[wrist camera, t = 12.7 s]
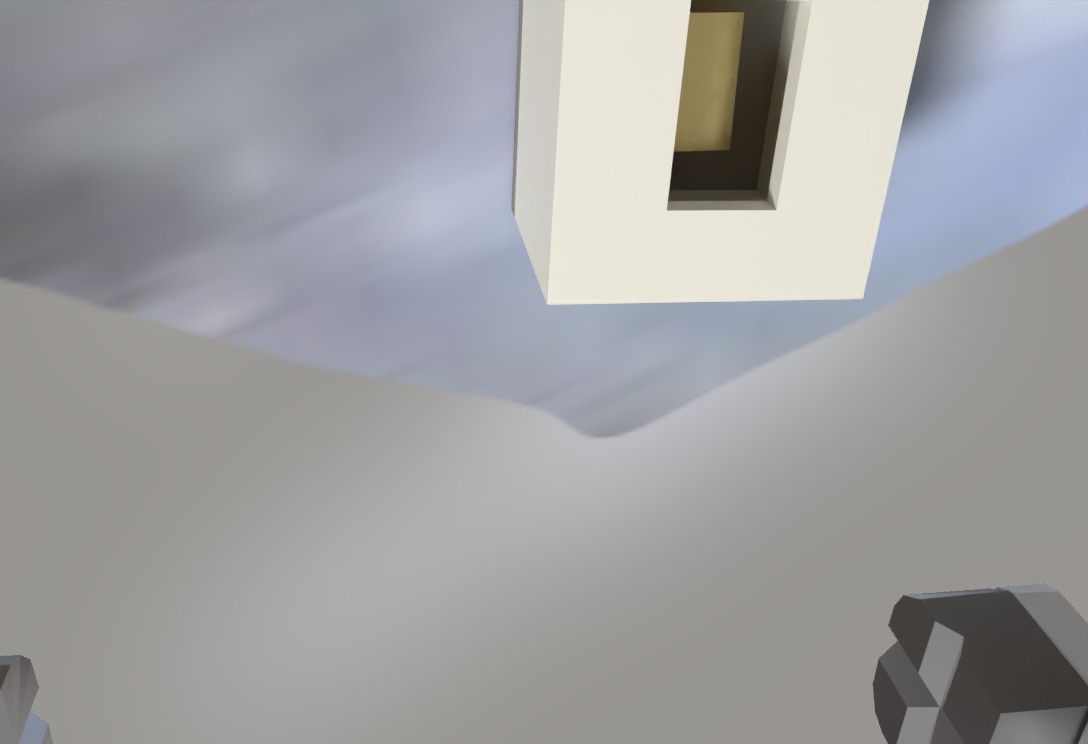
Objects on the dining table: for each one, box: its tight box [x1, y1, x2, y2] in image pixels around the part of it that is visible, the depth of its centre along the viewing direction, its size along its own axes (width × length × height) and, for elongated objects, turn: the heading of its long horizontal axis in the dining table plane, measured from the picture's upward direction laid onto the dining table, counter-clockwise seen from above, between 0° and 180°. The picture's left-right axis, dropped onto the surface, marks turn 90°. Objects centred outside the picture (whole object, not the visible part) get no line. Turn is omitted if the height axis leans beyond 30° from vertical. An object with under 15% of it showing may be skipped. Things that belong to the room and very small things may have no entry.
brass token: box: [674, 0, 744, 152], centre depth 39 cm, size 5×2×5 cm, turn 179°
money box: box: [512, 0, 929, 305], centre depth 38 cm, size 14×12×10 cm
